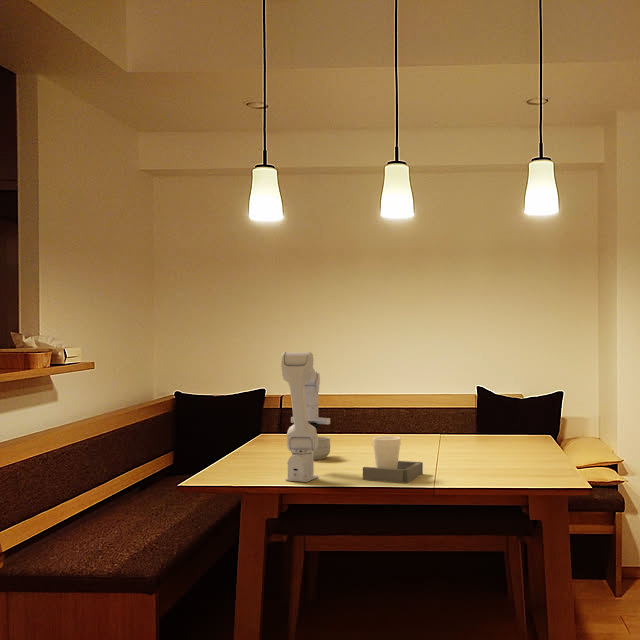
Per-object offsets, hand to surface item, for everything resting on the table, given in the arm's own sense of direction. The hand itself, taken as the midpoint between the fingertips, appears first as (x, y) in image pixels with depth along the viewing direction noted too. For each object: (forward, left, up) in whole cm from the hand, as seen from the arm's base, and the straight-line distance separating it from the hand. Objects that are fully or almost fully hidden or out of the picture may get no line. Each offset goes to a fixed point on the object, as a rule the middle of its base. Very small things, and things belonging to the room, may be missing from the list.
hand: (310, 443), depth 292 cm
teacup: (+25, +8, -10) cm, 28 cm away
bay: (0, -30, -9) cm, 31 cm away
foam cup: (0, -28, -10) cm, 30 cm away
